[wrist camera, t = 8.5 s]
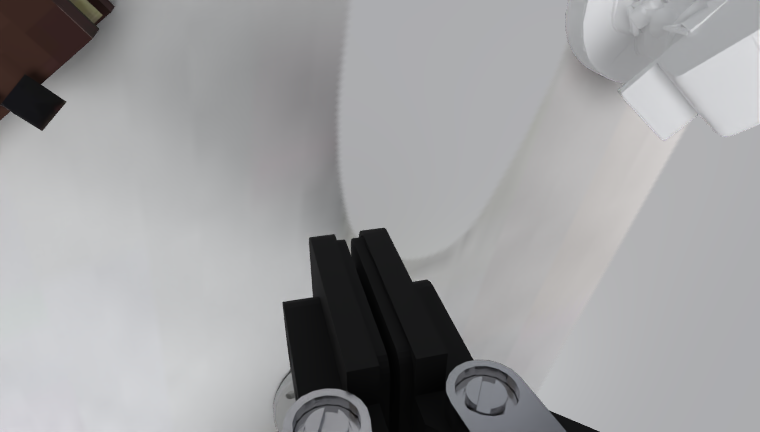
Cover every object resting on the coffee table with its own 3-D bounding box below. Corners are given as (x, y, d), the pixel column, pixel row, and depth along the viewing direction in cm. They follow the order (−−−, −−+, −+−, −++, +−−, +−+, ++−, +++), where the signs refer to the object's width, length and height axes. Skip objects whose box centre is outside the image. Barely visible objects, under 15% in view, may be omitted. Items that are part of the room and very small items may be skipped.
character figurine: (711, -4, 36) (903, 44, 26) (603, 111, 38) (740, 195, 28) (644, -106, 31) (844, -94, 21) (526, 32, 34) (656, 100, 24)
